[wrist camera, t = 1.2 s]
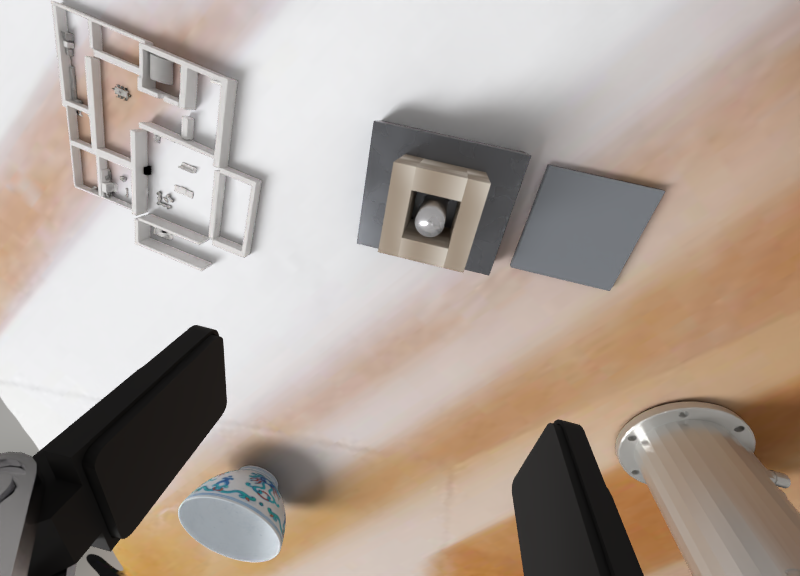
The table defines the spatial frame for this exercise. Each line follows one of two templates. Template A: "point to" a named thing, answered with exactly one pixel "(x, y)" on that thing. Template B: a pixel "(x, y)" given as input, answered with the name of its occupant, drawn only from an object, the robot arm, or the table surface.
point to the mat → (583, 227)
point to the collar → (438, 181)
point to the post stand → (434, 210)
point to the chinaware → (237, 514)
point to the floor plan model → (150, 69)
